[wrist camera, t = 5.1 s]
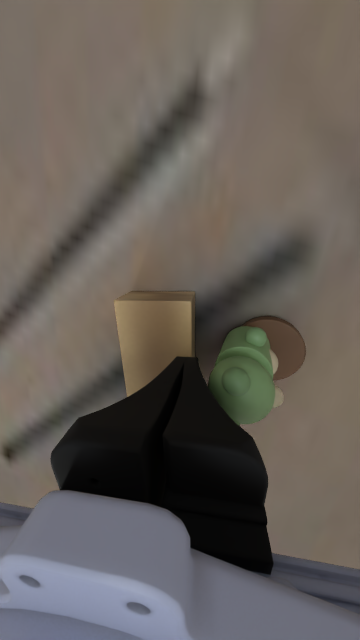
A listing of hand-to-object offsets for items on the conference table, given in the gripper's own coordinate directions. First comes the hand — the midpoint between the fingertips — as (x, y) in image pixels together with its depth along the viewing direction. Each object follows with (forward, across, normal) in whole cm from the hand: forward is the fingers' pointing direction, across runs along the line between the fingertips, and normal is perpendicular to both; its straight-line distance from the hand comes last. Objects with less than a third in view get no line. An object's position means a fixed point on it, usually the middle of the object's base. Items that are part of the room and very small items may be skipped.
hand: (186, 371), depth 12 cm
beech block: (+4, +2, 0) cm, 5 cm away
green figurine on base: (+4, -3, 0) cm, 5 cm away
